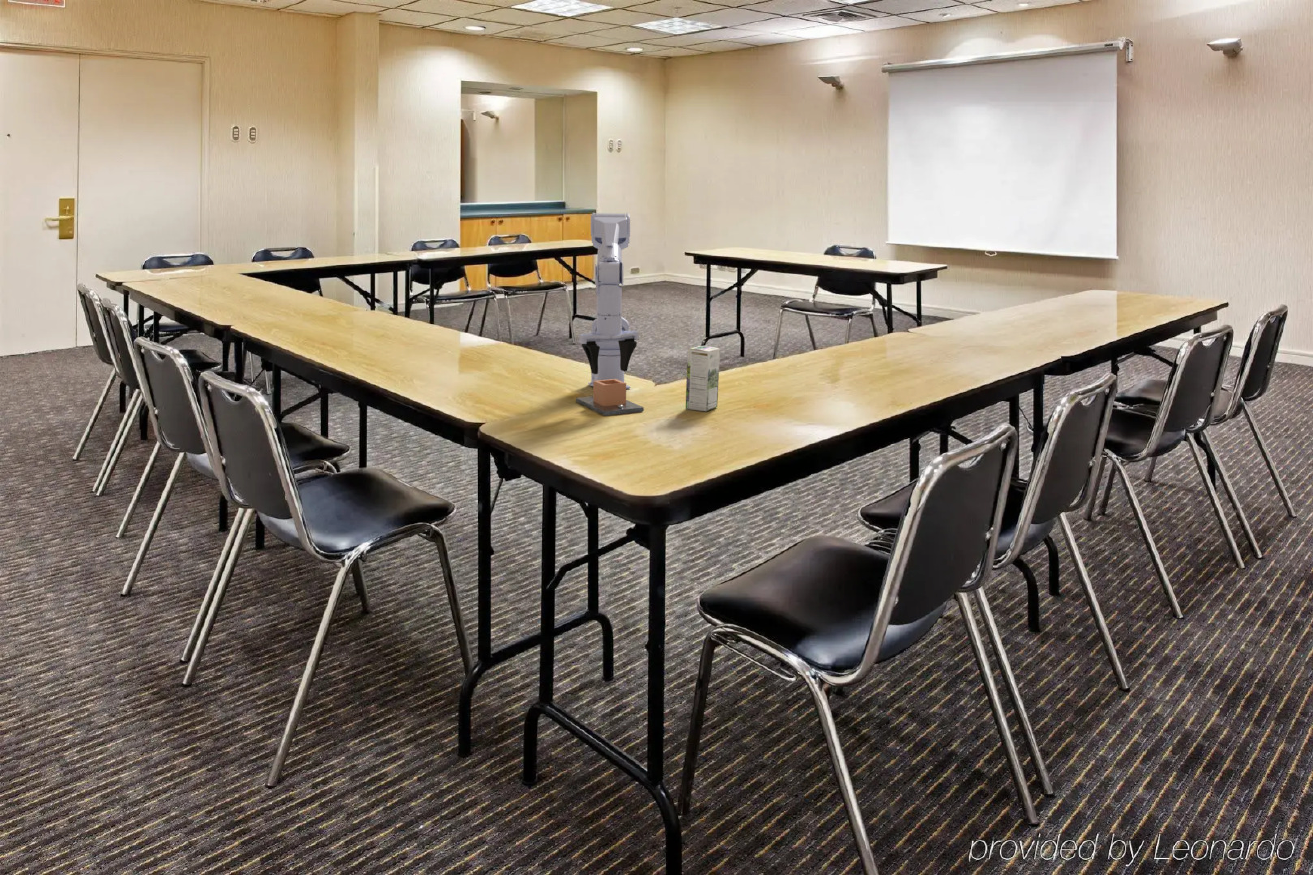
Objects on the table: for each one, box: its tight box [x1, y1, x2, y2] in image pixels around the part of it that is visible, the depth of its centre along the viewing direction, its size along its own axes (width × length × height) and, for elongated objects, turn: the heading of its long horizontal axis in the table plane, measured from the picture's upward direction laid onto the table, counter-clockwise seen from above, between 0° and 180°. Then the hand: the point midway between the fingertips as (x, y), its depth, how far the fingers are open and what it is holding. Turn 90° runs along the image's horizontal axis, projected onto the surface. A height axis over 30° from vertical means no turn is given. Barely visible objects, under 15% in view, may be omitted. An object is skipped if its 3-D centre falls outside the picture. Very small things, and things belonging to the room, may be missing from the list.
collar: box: [592, 379, 627, 406], centre depth 231 cm, size 6×6×5 cm
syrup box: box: [685, 345, 721, 412], centre depth 230 cm, size 6×6×14 cm
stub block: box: [575, 395, 645, 417], centre depth 232 cm, size 16×10×3 cm, turn 29°
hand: (609, 372), depth 230 cm, fingers open, 7 cm apart
